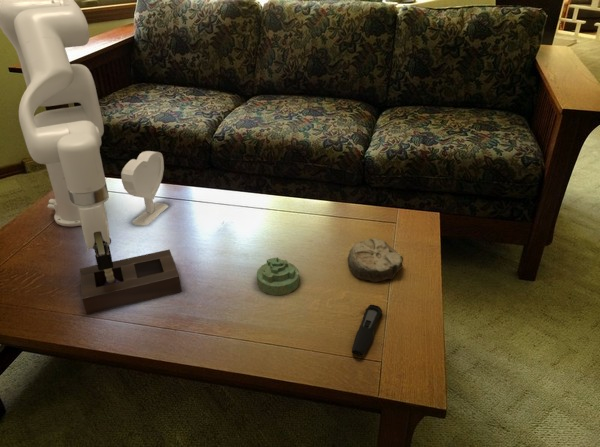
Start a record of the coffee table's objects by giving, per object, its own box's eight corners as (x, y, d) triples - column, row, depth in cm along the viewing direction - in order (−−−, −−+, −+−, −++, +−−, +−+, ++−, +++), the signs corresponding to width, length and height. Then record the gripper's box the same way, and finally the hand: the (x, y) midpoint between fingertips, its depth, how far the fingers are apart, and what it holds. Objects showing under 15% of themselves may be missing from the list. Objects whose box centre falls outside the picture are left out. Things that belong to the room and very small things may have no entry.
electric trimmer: (346, 358, 103) (347, 347, 102) (366, 310, 116) (367, 299, 114) (364, 363, 102) (365, 352, 101) (383, 314, 115) (384, 303, 113)
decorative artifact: (290, 298, 119) (304, 274, 127) (290, 274, 115) (304, 250, 123) (250, 290, 122) (266, 266, 130) (249, 265, 118) (265, 242, 126)
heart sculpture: (143, 228, 145) (133, 170, 136) (128, 225, 147) (116, 167, 137) (171, 203, 158) (164, 148, 149) (157, 200, 159) (148, 145, 150)
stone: (385, 249, 137) (387, 231, 134) (409, 277, 126) (412, 259, 123) (339, 258, 133) (339, 240, 131) (360, 288, 122) (361, 270, 120)
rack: (83, 283, 124) (79, 268, 121) (171, 264, 131) (169, 249, 128) (86, 314, 114) (82, 298, 112) (181, 291, 121) (179, 276, 119)
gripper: (67, 179, 113) (85, 249, 123) (71, 215, 100) (90, 289, 110) (104, 173, 115) (118, 242, 125) (111, 207, 103) (127, 281, 112)
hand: (105, 263), depth 117 cm, fingers closed on toy lamp, 2 cm apart
